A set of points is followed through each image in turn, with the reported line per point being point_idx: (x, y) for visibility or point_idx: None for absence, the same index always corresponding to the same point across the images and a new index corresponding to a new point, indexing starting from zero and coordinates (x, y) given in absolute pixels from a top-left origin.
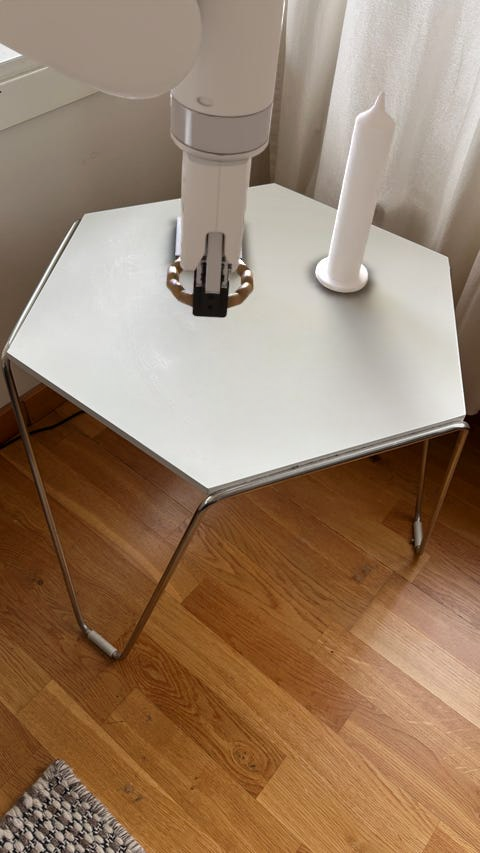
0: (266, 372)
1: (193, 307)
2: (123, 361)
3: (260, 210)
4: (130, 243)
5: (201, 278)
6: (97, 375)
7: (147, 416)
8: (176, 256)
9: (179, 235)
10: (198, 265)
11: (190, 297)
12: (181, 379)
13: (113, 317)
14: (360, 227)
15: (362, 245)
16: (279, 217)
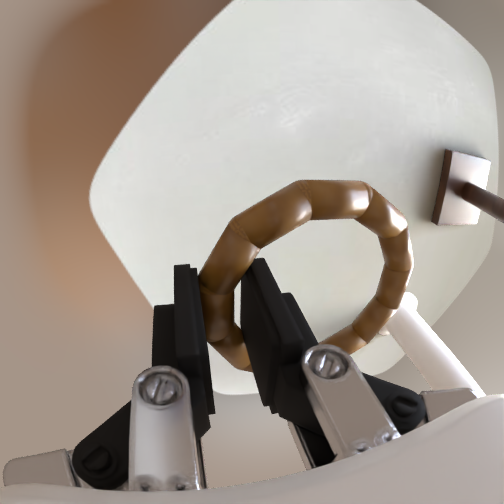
0: (271, 252)
1: (174, 281)
2: (293, 67)
3: (479, 238)
4: (469, 104)
5: (80, 460)
6: (265, 33)
7: (186, 104)
8: (451, 152)
9: (473, 159)
10: (131, 479)
11: (222, 268)
12: (258, 146)
13: (372, 61)
14: (418, 366)
15: (406, 354)
16: (468, 255)
